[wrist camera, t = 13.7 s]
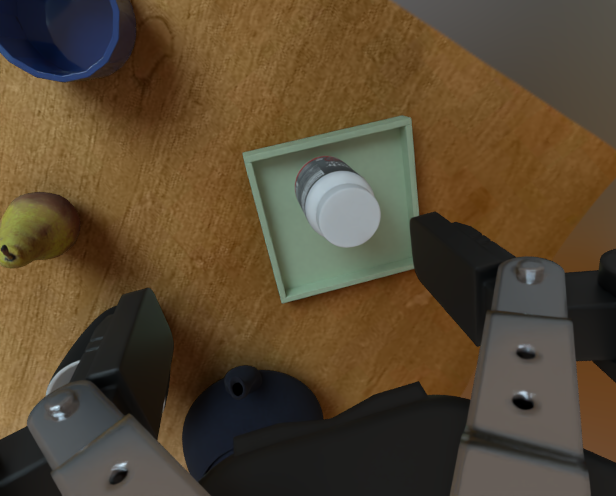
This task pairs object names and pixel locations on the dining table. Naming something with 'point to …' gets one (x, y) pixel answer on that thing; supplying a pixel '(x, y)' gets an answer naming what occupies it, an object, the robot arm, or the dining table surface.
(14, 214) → the fruit
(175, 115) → the dining table surface
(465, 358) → the dining table surface
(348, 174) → the pill bottle
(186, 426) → the teapot
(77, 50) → the pen cup
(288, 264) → the tray
